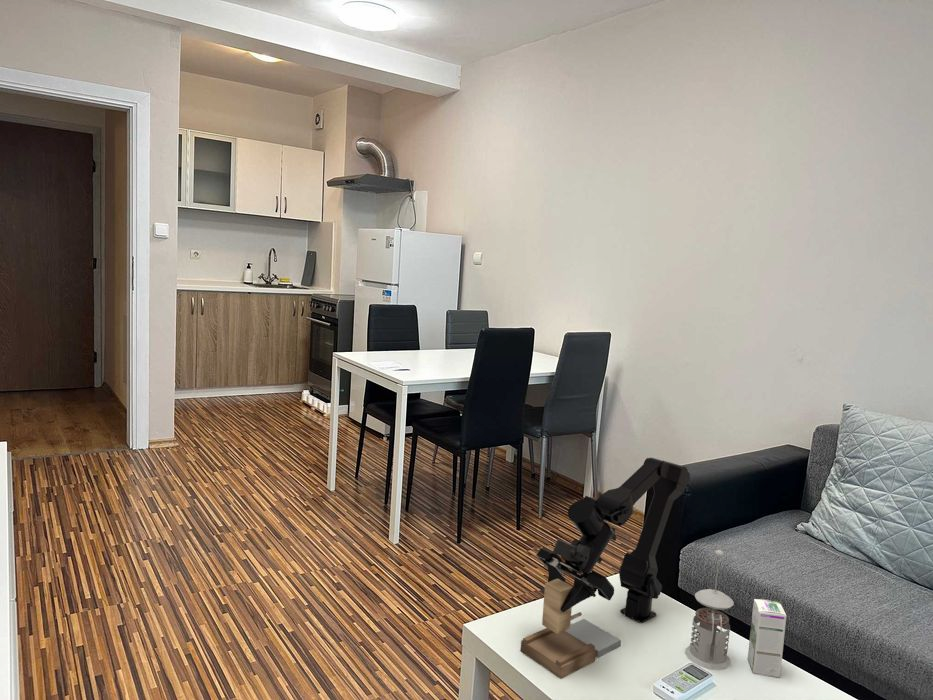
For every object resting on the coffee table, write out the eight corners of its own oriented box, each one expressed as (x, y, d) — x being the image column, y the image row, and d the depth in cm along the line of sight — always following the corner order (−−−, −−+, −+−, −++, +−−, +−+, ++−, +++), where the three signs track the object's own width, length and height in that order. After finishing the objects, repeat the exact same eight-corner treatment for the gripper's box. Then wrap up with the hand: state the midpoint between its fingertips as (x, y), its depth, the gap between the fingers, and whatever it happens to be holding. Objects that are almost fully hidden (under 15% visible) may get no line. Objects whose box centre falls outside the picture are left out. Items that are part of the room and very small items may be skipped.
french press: (727, 648, 154) (739, 544, 151) (736, 678, 143) (749, 566, 139) (682, 641, 156) (693, 538, 153) (688, 670, 144) (700, 559, 141)
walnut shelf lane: (554, 635, 155) (555, 622, 154) (595, 661, 146) (596, 646, 145) (520, 651, 148) (521, 637, 147) (560, 678, 139) (562, 663, 138)
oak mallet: (572, 611, 152) (575, 571, 151) (588, 620, 148) (591, 579, 147) (542, 624, 145) (545, 583, 144) (557, 634, 142) (560, 591, 141)
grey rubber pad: (583, 624, 161) (583, 618, 160) (620, 646, 152) (621, 639, 152) (560, 634, 155) (561, 628, 155) (597, 657, 147) (598, 651, 147)
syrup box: (780, 678, 143) (788, 614, 142) (751, 673, 145) (759, 610, 143) (774, 663, 149) (781, 601, 147) (745, 658, 150) (753, 597, 148)
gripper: (544, 512, 152) (505, 570, 146) (610, 541, 138) (570, 607, 132) (565, 538, 158) (529, 595, 152) (630, 568, 144) (593, 632, 138)
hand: (553, 606), depth 143 cm, fingers closed on oak mallet, 4 cm apart
